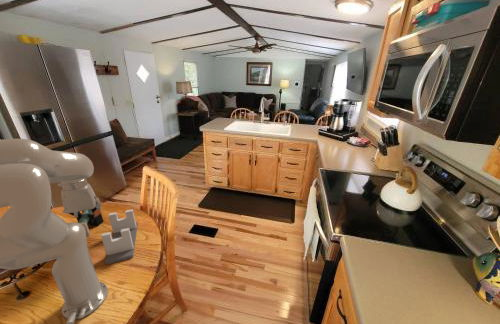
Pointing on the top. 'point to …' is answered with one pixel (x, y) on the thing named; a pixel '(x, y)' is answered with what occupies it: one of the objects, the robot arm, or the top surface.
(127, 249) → the stand
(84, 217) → the dowel bar
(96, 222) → the battery
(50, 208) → the robot arm
